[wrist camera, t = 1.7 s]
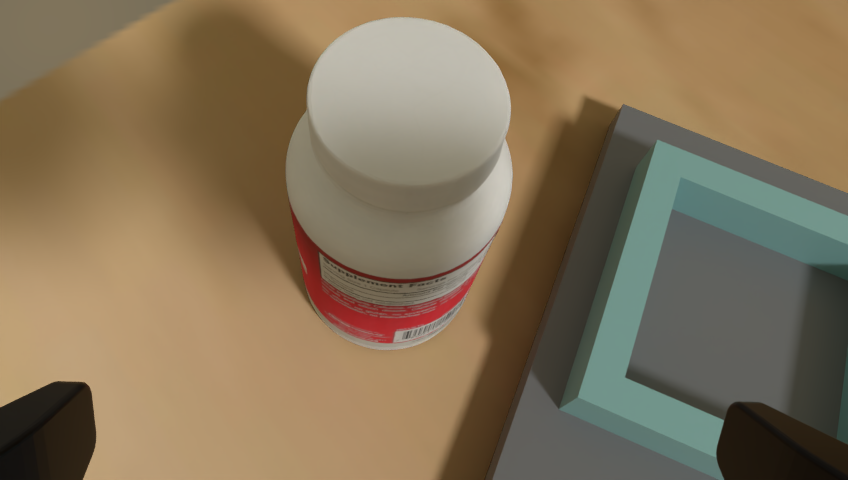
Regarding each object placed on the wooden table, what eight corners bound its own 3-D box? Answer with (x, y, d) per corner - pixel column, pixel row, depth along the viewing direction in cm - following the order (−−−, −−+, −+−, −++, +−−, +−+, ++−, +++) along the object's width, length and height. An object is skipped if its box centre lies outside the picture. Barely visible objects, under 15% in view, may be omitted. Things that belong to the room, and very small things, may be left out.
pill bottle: (343, 181, 26) (338, -41, 16) (486, 235, 26) (573, 41, 16) (275, 319, 23) (221, 155, 13) (434, 380, 23) (499, 259, 13)
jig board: (845, 795, 19) (943, 846, 16) (440, 604, 20) (457, 616, 17) (897, 240, 28) (967, 200, 24) (610, 124, 29) (642, 72, 25)
